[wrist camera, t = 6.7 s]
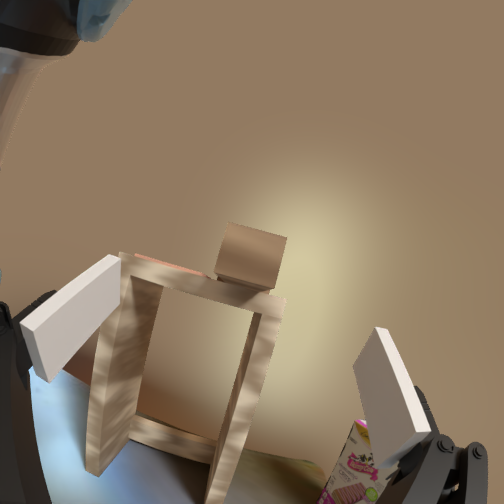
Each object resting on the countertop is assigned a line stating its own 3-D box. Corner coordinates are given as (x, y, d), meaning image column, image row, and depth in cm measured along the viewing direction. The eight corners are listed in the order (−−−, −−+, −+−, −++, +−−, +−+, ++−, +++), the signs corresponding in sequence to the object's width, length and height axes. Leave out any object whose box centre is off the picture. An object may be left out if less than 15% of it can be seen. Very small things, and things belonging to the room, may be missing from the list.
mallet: (295, 294, 16) (317, 196, 17) (192, 266, 16) (222, 171, 17) (262, 295, 39) (273, 254, 40) (221, 284, 39) (232, 243, 40)
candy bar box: (313, 503, 28) (352, 418, 31) (339, 499, 30) (378, 417, 32) (348, 545, 18) (406, 453, 20) (376, 536, 19) (432, 446, 21)
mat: (134, 256, 30) (135, 253, 30) (158, 266, 39) (159, 263, 40) (201, 276, 30) (202, 272, 30) (211, 281, 39) (211, 279, 40)
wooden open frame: (85, 470, 23) (119, 251, 28) (121, 432, 37) (156, 265, 41) (217, 517, 23) (286, 299, 28) (222, 465, 37) (271, 298, 41)
